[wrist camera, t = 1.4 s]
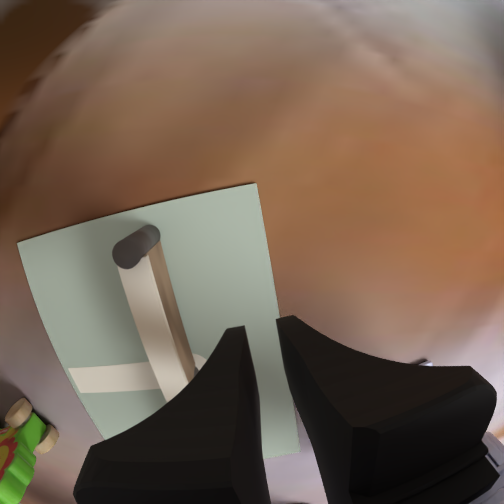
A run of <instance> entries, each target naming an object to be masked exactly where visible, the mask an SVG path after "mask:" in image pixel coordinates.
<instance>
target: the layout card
mask: <svg viewBox="0 0 504 504" xmlns="http://www.w3.org/2000/svg"><path fill="white" fill-rule="evenodd" d="M145 225H154V226H156V227H157V228H158V229H159V231H160V235H161V238H160V241H161V245H162V249H163V253H164V257H165V261H166V265H167V269H168V273H169V277H170V280H171V284H172V288H173V291H174V295H175V299H176V302H177V306H178V309H179V312H180V316H181V319H182V323H183V326H184V329H185V332H186V336H187V339H188V342H189V345H190V348H191V352H192V355H193V358H194V361H195V366H196V367H197V368H198V370H200V369H201V368H202V366H203V365H204V364H205V362H206V361H207V360H208V358H209V357H210V355H211V353H212V352H213V350H214V349H215V347H216V345H217V344H218V342H219V340H220V339H221V337H222V335H223V333H224V332H225V330H226V329H227V328H232V327H238V326H243V325H245V329H246V333H247V338H248V342H249V347H250V351H251V356H252V360H253V364H254V369H255V373H256V379H257V385H258V390H259V396H260V414H261V435H262V452H263V459H266V458H272V457H277V456H282V455H287V454H292V453H296V452H301V451H300V444H299V437H298V431H297V424H296V417H295V411H294V404H293V397H292V395H291V392H290V390H289V386H288V382H287V378H286V374H285V371H284V366H283V360H282V354H281V348H280V342H279V336H278V331H277V325H276V319H278V318H280V316H279V310H278V304H277V298H276V292H275V286H274V280H273V274H272V268H271V263H270V257H269V251H268V245H267V240H266V234H265V228H264V223H263V217H262V211H261V206H260V200H259V195H258V189H257V184H256V183H254V184H249V185H243V186H238V187H233V188H228V189H223V190H218V191H213V192H208V193H203V194H198V195H193V196H189V197H184V198H180V199H175V200H171V201H166V202H162V203H158V204H154V205H149V206H145V207H141V208H137V209H133V210H129V211H125V212H121V213H117V214H114V215H110V216H106V217H102V218H99V219H95V220H91V221H88V222H84V223H81V224H77V225H74V226H70V227H67V228H63V229H60V230H57V231H53V232H50V233H47V234H44V235H40V236H37V237H34V238H31V239H28V240H25V241H22V242H19V243H17V245H18V249H19V253H20V256H21V260H22V263H23V267H24V270H25V273H26V277H27V280H28V283H29V286H30V289H31V292H32V295H33V298H34V300H35V303H36V306H37V309H38V311H39V314H40V316H41V319H42V321H43V324H44V326H45V329H46V331H47V334H48V336H49V338H50V341H51V343H52V345H53V347H54V350H55V352H56V354H57V356H58V358H59V360H60V362H61V364H62V366H63V368H64V370H65V372H66V374H67V376H68V378H69V380H70V382H71V384H72V386H73V388H74V390H75V391H76V393H77V395H78V397H79V399H80V400H81V402H82V404H83V406H84V407H85V409H86V411H87V412H88V414H89V416H90V417H91V419H92V421H93V422H94V424H95V425H96V427H97V428H98V430H99V432H100V433H101V435H102V436H103V438H104V439H105V440H106V439H109V438H111V437H113V436H115V435H117V434H119V433H122V432H124V431H125V430H127V429H129V428H131V427H133V426H134V425H136V424H138V423H140V422H141V421H143V420H144V419H146V418H147V417H149V416H150V415H152V414H153V413H155V412H156V411H157V410H159V409H160V408H161V407H163V406H164V405H165V404H166V403H168V402H167V401H166V399H165V397H164V395H163V392H162V390H161V388H160V385H159V383H158V381H157V378H156V376H155V374H154V371H153V369H152V366H151V364H150V361H149V359H148V356H147V354H146V351H145V348H144V346H143V343H142V340H141V338H140V335H139V332H138V329H137V327H136V324H135V321H134V318H133V315H132V312H131V309H130V306H129V303H128V300H127V297H126V294H125V290H124V287H123V284H122V281H121V277H120V274H119V270H118V267H117V265H116V263H115V262H114V260H113V257H112V250H113V247H114V245H115V244H116V243H117V242H119V241H120V240H122V239H124V238H125V237H127V236H128V235H130V234H132V233H133V232H135V231H137V230H138V229H140V228H142V227H143V226H145Z"/></svg>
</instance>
